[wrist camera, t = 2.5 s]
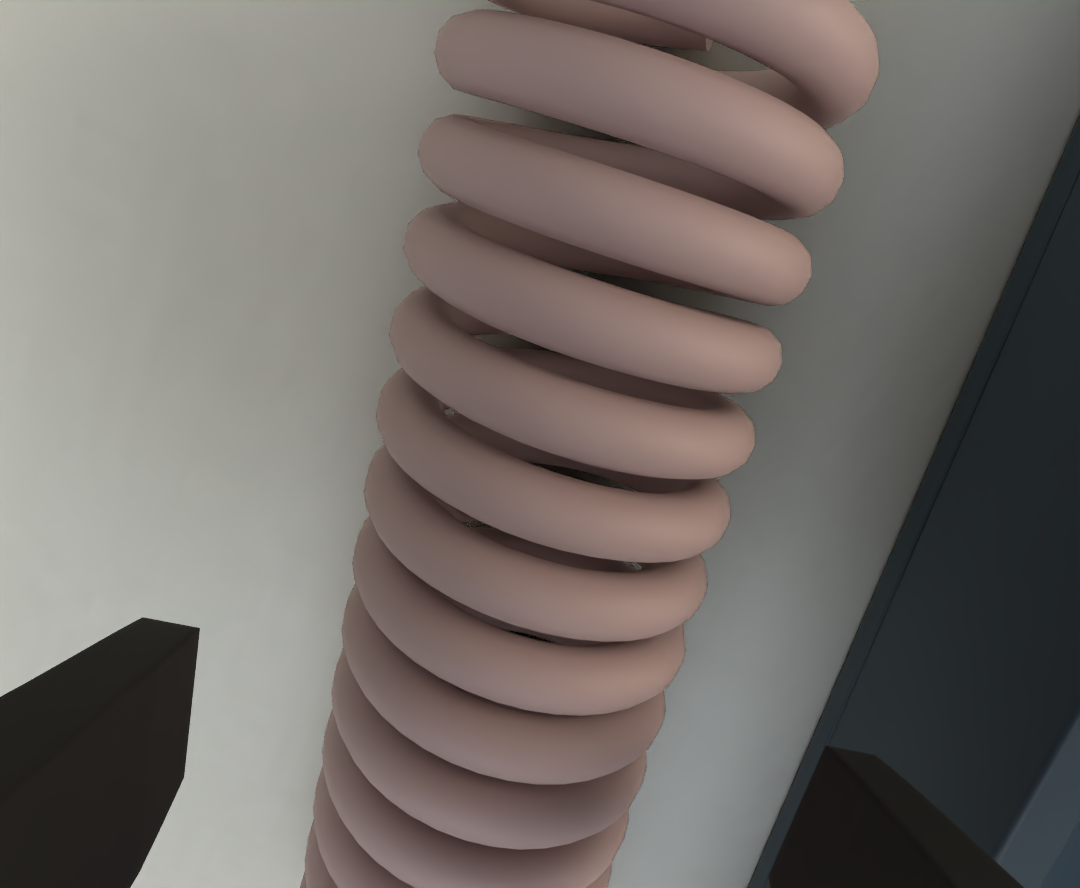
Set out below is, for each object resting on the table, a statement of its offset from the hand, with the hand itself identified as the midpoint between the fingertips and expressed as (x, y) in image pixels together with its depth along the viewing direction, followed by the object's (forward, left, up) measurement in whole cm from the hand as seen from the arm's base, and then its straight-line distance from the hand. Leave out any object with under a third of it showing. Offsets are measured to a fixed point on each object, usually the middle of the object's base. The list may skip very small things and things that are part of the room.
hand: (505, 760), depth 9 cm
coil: (0, 0, -5) cm, 5 cm away
